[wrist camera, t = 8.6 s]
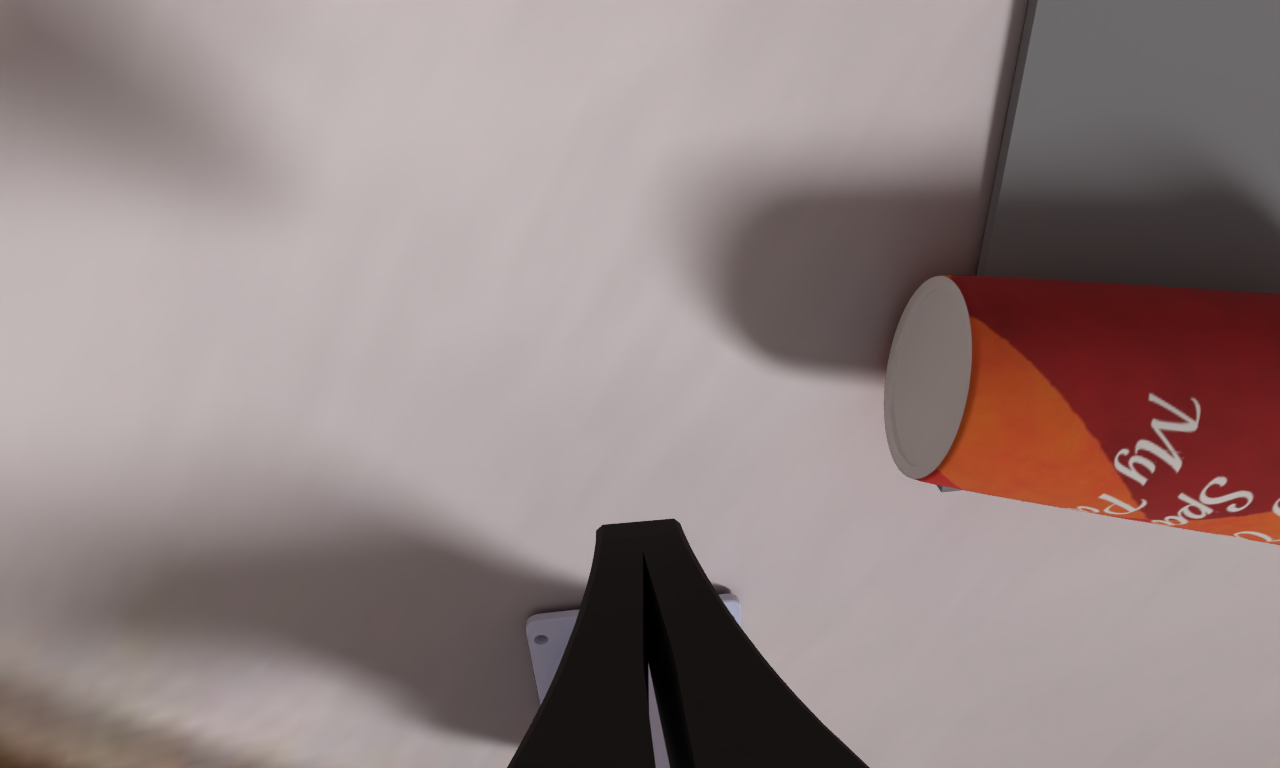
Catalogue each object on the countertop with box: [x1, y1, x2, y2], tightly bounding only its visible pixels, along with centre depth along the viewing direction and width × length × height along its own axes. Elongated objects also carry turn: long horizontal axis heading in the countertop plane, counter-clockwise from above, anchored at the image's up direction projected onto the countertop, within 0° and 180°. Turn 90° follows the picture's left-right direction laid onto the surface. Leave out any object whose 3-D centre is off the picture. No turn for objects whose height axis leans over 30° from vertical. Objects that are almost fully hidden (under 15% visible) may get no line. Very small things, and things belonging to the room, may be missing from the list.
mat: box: [937, 0, 1280, 492], centre depth 22 cm, size 16×11×1 cm
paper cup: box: [884, 275, 1280, 545], centre depth 21 cm, size 8×8×14 cm
